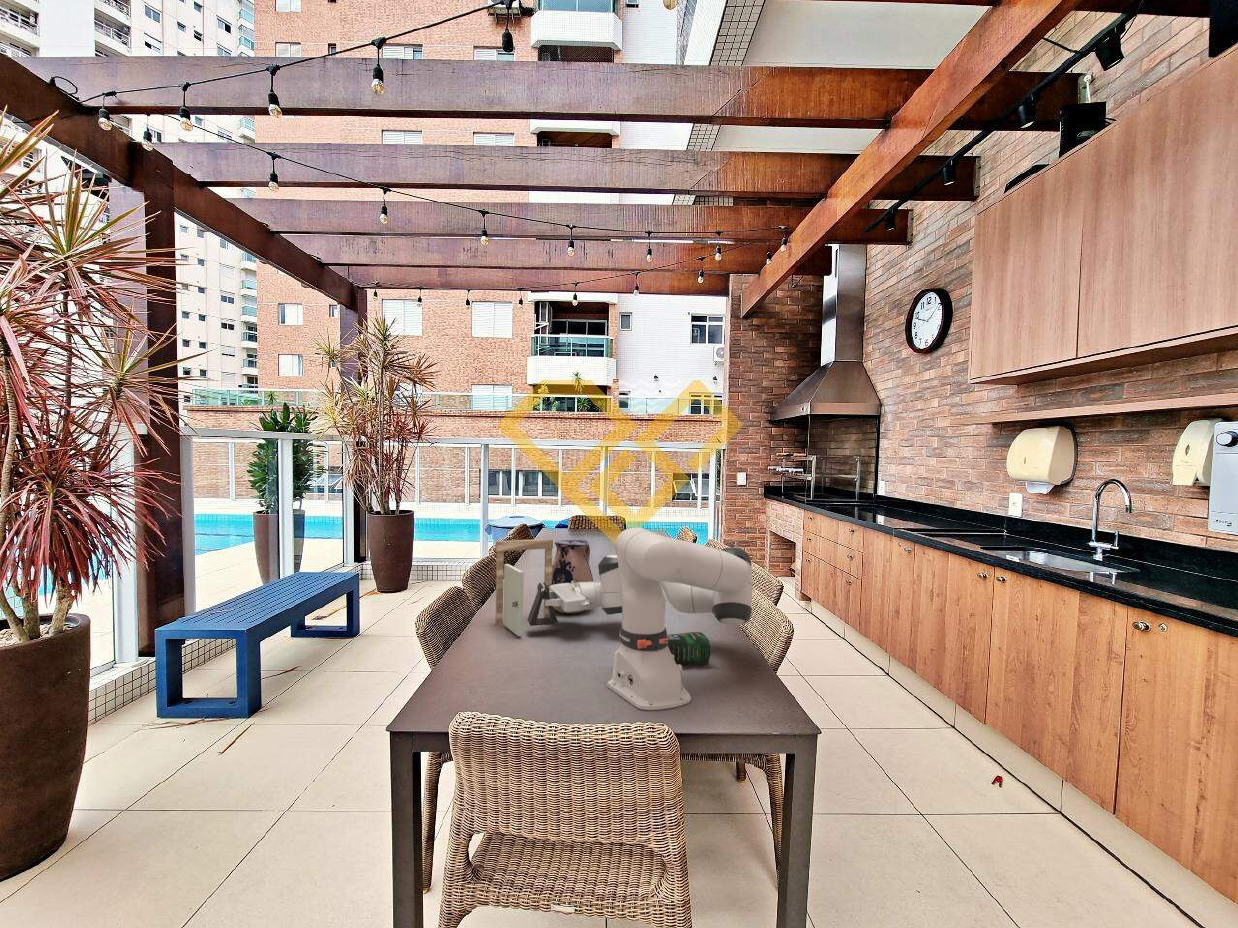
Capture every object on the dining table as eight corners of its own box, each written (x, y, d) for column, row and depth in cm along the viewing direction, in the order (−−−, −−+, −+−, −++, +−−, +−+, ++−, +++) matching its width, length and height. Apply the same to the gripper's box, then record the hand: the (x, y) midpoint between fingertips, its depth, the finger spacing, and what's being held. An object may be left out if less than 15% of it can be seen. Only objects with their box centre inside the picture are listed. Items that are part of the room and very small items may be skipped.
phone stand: (555, 618, 183) (555, 581, 183) (558, 623, 177) (558, 586, 177) (527, 620, 180) (528, 583, 180) (529, 625, 175) (530, 587, 174)
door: (514, 637, 173) (515, 572, 172) (499, 624, 184) (500, 564, 183) (522, 635, 174) (523, 571, 173) (507, 623, 185) (508, 563, 185)
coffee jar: (712, 638, 154) (647, 643, 150) (711, 667, 154) (647, 672, 150) (699, 627, 163) (637, 631, 159) (698, 654, 164) (637, 659, 159)
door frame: (551, 620, 192) (553, 539, 191) (495, 626, 185) (497, 542, 184) (549, 618, 194) (551, 538, 193) (494, 624, 187) (495, 540, 186)
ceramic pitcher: (538, 614, 199) (539, 544, 198) (561, 599, 219) (562, 535, 218) (584, 620, 194) (585, 548, 193) (603, 604, 214) (605, 538, 213)
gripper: (593, 614, 174) (550, 618, 169) (574, 597, 193) (534, 600, 188) (593, 594, 174) (550, 598, 169) (574, 579, 193) (534, 582, 188)
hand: (541, 599), depth 178 cm, fingers closed on phone stand, 6 cm apart
